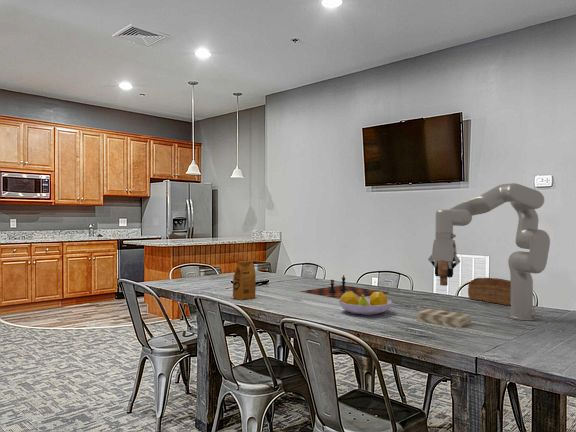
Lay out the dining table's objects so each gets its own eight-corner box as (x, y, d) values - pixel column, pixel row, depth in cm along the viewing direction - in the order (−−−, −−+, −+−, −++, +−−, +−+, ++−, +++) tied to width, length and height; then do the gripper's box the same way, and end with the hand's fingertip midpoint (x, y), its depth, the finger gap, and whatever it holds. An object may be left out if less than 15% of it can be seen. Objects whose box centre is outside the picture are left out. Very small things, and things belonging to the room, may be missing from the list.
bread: (515, 307, 249) (515, 282, 250) (464, 299, 275) (464, 276, 275) (527, 305, 256) (527, 280, 256) (477, 297, 282) (477, 275, 282)
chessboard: (342, 286, 327) (342, 270, 327) (388, 293, 296) (388, 276, 296) (299, 292, 301) (299, 275, 301) (345, 301, 270) (345, 282, 270)
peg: (452, 285, 213) (452, 260, 213) (446, 286, 209) (446, 261, 209) (440, 283, 217) (441, 260, 217) (435, 285, 213) (435, 260, 213)
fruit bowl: (350, 305, 253) (350, 284, 253) (399, 311, 239) (399, 288, 239) (327, 314, 229) (327, 291, 229) (380, 321, 215) (380, 296, 215)
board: (471, 323, 210) (471, 314, 210) (459, 328, 202) (459, 318, 202) (429, 317, 224) (429, 308, 224) (417, 320, 216) (417, 312, 216)
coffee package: (230, 298, 274) (230, 260, 274) (248, 296, 282) (248, 259, 282) (239, 300, 267) (240, 261, 267) (257, 298, 274) (257, 260, 275)
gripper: (466, 237, 210) (465, 277, 210) (430, 236, 222) (430, 274, 222) (458, 237, 205) (458, 279, 204) (422, 236, 217) (422, 275, 216)
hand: (443, 276), depth 213 cm, fingers closed on peg, 5 cm apart
